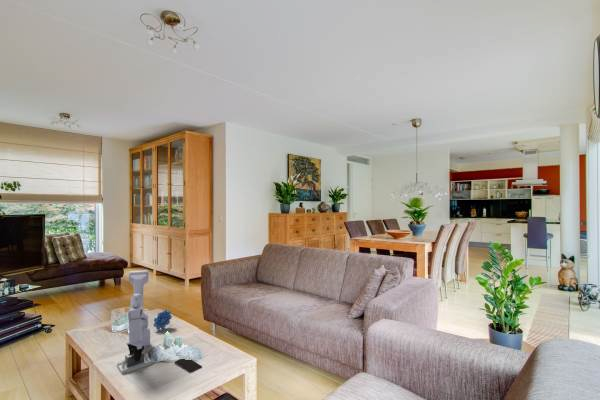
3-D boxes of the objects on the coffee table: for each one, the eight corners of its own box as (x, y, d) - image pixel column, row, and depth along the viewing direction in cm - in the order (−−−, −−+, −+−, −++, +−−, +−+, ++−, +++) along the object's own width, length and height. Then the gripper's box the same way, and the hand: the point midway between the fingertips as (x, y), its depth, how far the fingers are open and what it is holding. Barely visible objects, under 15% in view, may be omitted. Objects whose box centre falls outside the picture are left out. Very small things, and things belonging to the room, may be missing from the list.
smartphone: (190, 372, 153) (173, 361, 162) (190, 375, 153) (173, 364, 162) (203, 366, 158) (186, 356, 167) (202, 368, 158) (186, 358, 168)
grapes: (168, 324, 212) (169, 306, 212) (173, 327, 207) (173, 309, 207) (150, 329, 204) (151, 310, 204) (154, 332, 199) (155, 313, 199)
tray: (146, 357, 167) (146, 349, 167) (152, 363, 161) (152, 356, 161) (117, 366, 158) (117, 358, 158) (122, 374, 151) (122, 365, 151)
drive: (142, 359, 163) (142, 349, 163) (144, 362, 161) (144, 352, 161) (125, 364, 158) (125, 354, 158) (127, 367, 155) (127, 357, 155)
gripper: (122, 329, 162) (122, 355, 162) (131, 338, 151) (130, 366, 151) (137, 325, 167) (137, 351, 167) (146, 334, 156) (146, 361, 156)
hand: (135, 358), depth 159 cm, fingers open, 7 cm apart
